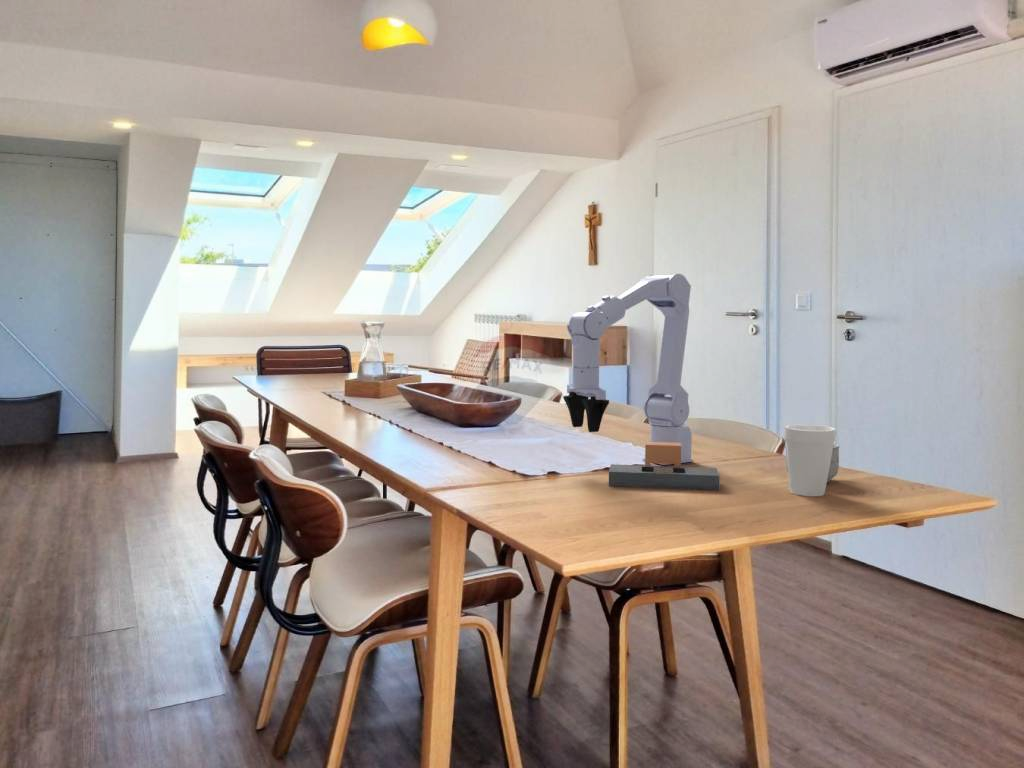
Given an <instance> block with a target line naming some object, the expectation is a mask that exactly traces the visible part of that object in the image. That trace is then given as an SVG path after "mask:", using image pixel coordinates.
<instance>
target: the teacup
mask: <svg viewBox="0 0 1024 768" xmlns="http://www.w3.org/2000/svg"><path fill="white" fill-rule="evenodd" d="M840 447H841V446H840V445H839V444H837V443H834V445H833V450H832V456H831V461H830V467H829V472H828V478H827V483H829V482H830V481H831V480H832V479H833V478H835V477H836V476H837V475H838V472H839V467H840V451H839V450H840ZM784 449H786V444H785V445H784ZM785 466H786V471H787V473H788V474H789V471H788V461H787V451H786V450H785Z"/></svg>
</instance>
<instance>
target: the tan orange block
mask: <svg viewBox="0 0 1024 768" xmlns="http://www.w3.org/2000/svg"><path fill="white" fill-rule="evenodd" d="M644 445H645V449H644V451H645V452H644V458H645V460H644V466H652V464H657V463H659V464H658V465H661V464H668V465H674V467H682V463H681V443H670V442H650V441H645V444H644Z"/></svg>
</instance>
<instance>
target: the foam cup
mask: <svg viewBox="0 0 1024 768" xmlns="http://www.w3.org/2000/svg"><path fill="white" fill-rule="evenodd" d="M783 431H784V432H783V436H784V437H783V439H785V445H786V448H785V452H786V451H787V461H788V471H789V473H788V480H789V481H788V482H789V488H790V492H791V493H792V494H794V495H797V496H805V497H821V496H824V495H825V493H826V492H825V491H826V490H827V489H826V488H827V483H828V482H827V478H828V472H829V467H830V461H831V456H832V450H833V445H834V444H835V442H836V436H837V435H836V433H837V432H836V431H837V429H836V428H835V427H833V426H827V425H819V424H805V423H803V424H802V423H801V424H798V423H797V424H796V423H795V424H787V425H785V426H784V430H783ZM788 471H787V472H788Z"/></svg>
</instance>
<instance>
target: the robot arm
mask: <svg viewBox="0 0 1024 768" xmlns="http://www.w3.org/2000/svg"><path fill="white" fill-rule="evenodd" d="M691 287H692V285H691V284H690V282H689V281H688V278H686V276H684V274H682V273H675V274H657V275H656V274H650V275H647V276H646V277H643V278H641V279H639V282H637V283H636V284H635V285H633V286H632V287H630V288H629V289H628V290H626V291H625V292H623V293H622V294H621V295H619V296H618V297H617V296H614V295H603V296H602V297H601V301H599V302H597V303H596V304H594V305H589V306H587V307H586V309H585V311H578V312H575V313H574V314H573V315H572V316H571V317H570V318H569V321H568V324H567V325H566V328H567V329H566V330H567V331H568V334H569V336H570V338H571V340H570V343H571V344H572V384H567V385H566V393H567V394H568V395H562V398H563V401H564V403H565V404H566V407H567V409H568V412H569V417H570V422H571V425H572V427H573V428H583V425H584V420H585V415H586V422H587V423H586V424H587V430H588V432H589V433H598V432H599V431H600V428H601V423H602V420H603V416H604V414H605V411H606V409H607V407H608V405H610V399H607V396H606V395H607V393H606V392H607V391H606V390H605V389H602V388H601V387H600V338H603V336H604V334H605V332H606V329H608V328H609V327H611V326H613V325H614V324H616V323H618V322H620V321H621V320H622V319H623V318H625V315H626V311H627V310H629V309H631V308H632V307H633V308H634V307H635V306H637V305H638V304H640V303H642V302H644V301H647V302H649V303H650V304H651V305H652V306H653V307H655V308H656V309H657V310H659V311H660V312H661V313H662V315H663V317H664V322H663V331H662V339H661V347H660V355H659V363H658V364H659V365H658V372H657V378H656V379H657V380H656V382H655V383H654V384H653V385H652V386H651V387H650V388H649V389H648V393H647V397H646V399H645V401H644V405H643V413H644V416H645V418H646V419H648V424H650V433H649V434H650V436H649V437H650V438H649V439H650V441H649V442H670V443H681V464H683V463H691V462H692V463H693V462H694V459H693V458H692V444H693V443H692V442H693V441H692V439H693V438H692V437H693V436H692V431H691V429H690V426H688V425H687V424H686V423H685V422H686V421H687V420H688V418H689V415H690V405H689V393H688V391H687V390H686V389H684V387H683V386H682V385H681V384H682V383H681V382H682V375H683V374H682V373H683V365H684V359H685V350H686V342H687V341H686V340H687V333H688V332H687V331H688V325H689V318H690V305H689V304H690V298H691V297H690V296H691ZM667 395H668V396H667ZM641 460H643V461H645V457H641ZM656 464H658V465H660V466H666V465H667V466H669V464H659V463H656Z"/></svg>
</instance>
